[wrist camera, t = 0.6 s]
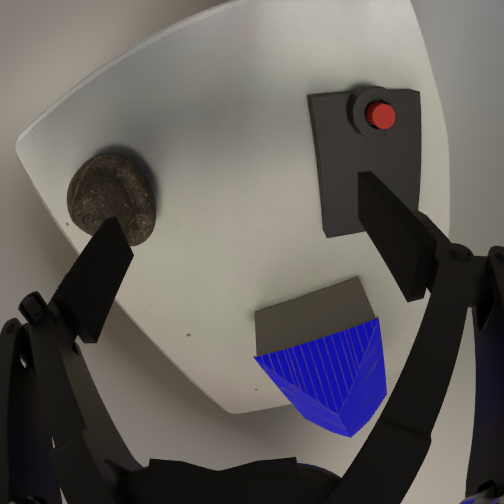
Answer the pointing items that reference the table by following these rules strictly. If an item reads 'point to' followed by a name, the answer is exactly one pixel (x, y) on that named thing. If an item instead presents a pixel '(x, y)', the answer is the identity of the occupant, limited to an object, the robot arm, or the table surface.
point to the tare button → (380, 115)
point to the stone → (112, 197)
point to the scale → (364, 151)
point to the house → (325, 355)
